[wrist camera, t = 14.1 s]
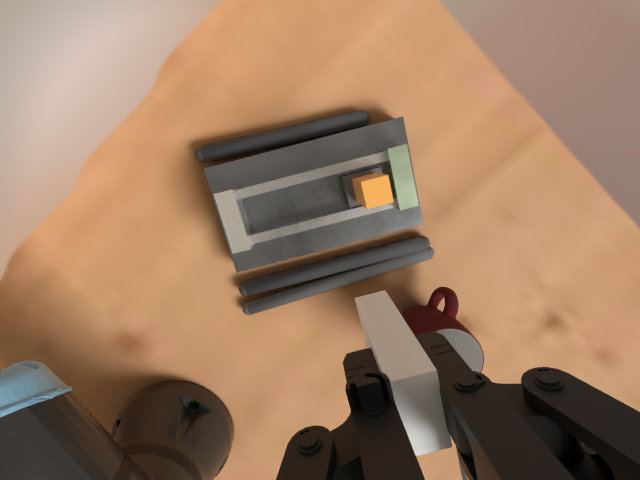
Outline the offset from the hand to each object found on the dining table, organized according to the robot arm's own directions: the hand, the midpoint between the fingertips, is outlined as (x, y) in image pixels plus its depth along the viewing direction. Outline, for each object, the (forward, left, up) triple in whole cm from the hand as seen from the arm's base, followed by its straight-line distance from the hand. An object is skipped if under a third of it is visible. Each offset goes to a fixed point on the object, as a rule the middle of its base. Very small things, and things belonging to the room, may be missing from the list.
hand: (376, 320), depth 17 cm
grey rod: (-1, -5, -26) cm, 27 cm away
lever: (+4, +4, -23) cm, 24 cm away
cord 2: (-1, -7, -26) cm, 27 cm away
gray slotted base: (-1, +4, -26) cm, 27 cm away
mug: (+8, -14, -27) cm, 31 cm away
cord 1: (-3, +11, -26) cm, 29 cm away
